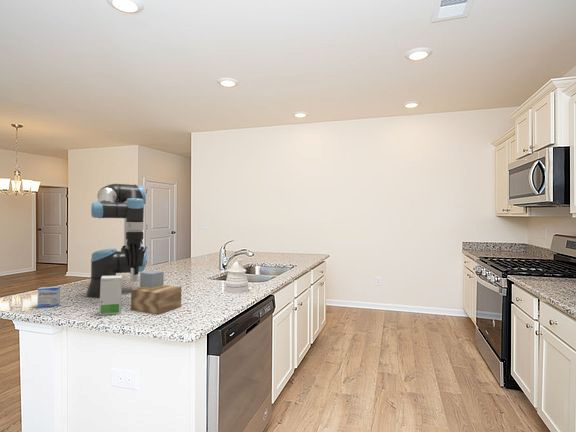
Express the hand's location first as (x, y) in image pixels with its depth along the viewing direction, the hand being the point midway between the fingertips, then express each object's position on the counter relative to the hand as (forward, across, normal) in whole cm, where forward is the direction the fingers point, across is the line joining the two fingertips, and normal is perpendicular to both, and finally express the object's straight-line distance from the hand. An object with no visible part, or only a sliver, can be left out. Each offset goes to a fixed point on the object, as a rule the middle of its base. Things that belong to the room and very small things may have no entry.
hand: (134, 281), depth 159 cm
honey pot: (+11, +28, +46) cm, 55 cm away
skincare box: (+11, +2, -14) cm, 18 cm away
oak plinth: (+11, +14, 0) cm, 18 cm away
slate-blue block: (+2, +11, 0) cm, 11 cm away
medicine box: (+11, -31, -19) cm, 38 cm away
